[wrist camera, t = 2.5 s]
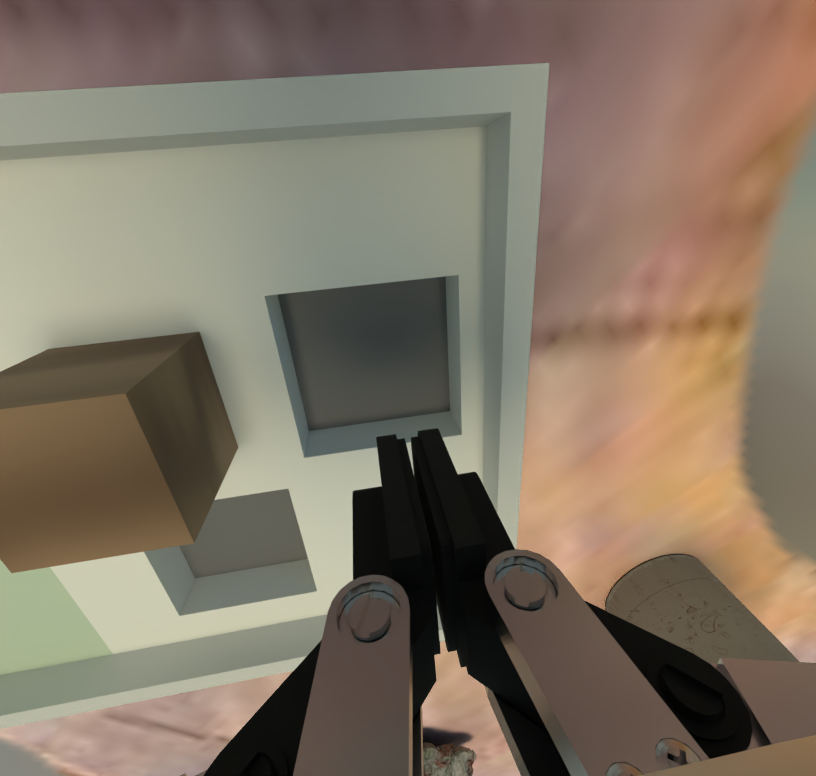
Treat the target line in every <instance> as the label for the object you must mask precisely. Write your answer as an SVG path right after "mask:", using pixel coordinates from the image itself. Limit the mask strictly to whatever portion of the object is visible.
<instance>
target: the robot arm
mask: <svg viewBox="0 0 816 776" xmlns="http://www.w3.org/2000/svg"><path fill="white" fill-rule="evenodd" d="M376 441H377V450H378V459H379V467H380V476H381V484H382V486H380V487H374V488H367V489H361V490H355V491H353V495H352V509H353V581H351V582H349V583H348V584H347V585H345V586H344V587H343V588H342V589H340V590H339V592H338V593H337V595H336V596H335V597H334V599H333V600H332V602H331V605H330V608H329V610H328V613H327V618H326V623H325V627H324V632H323V637H322V640H321V641H320V642H319V643H318V644H317V645H316V647H315V648H314V649H313V650H312V651H311V652H310V653H309V654H308V655H307V657H306V658H305V659H304V660H303V661H302V662H301V663H300V664H299V665H298V667H297V668H296V669H295V670H294V671H293V672H292V673H291V674H290V676H289V677H288V678H287V679H286V680H285V681H284V682H283V683H282V684H281V686H280V687H279V688H278V689H277V690H276V691H275V692H274V693H273V694H272V696H271V697H270V698H269V699H268V700H267V701H266V702H265V703H264V704H263V706H262V707H261V708H260V709H259V710H258V711H257V712H256V713H255V714H254V716H253V717H252V718H251V719H250V720H249V721H248V722H247V723H246V725H245V726H244V727H243V728H242V729H241V730H240V731H239V732H238V733H237V735H236V736H235V737H234V738H233V739H232V740H231V741H230V742H229V743H228V745H227V746H226V747H225V748H224V749H223V750H222V751H221V752H220V753H219V755H218V756H217V757H216V759H215V760H214V761H213V763H212V764H211V766H210V767H209V768H208V770H206V771H204V772H202V773H200V774H198V775H196V776H424V772H423V721H422V704H423V702H424V700H425V699H426V697H427V695H428V694H429V692H430V690H431V689H432V687H433V685H434V684H435V682H436V671H435V660H434V655H435V654H440V640H439V627H438V614H437V607H438V611H439V616H440V620H441V624H442V629H443V633H444V638H445V642H446V647H447V650H448V652H450V651H455V650H457V653H458V657H459V662H460V666H461V667H465V666H466V667H467V671H468V674H469V675H471V676H472V677H473V678H475V679H476V680H478V681H479V682H480V683H482V684H483V685H484V686H485V689H486V693H487V696H488V699H489V701H490V704H491V706H492V708H493V711H494V713H495V715H496V718H497V720H498V722H499V725H500V727H501V730H502V732H503V734H504V737H505V739H506V741H507V744H508V746H509V748H510V751H511V753H512V755H513V758H514V760H515V762H516V765H517V767H518V769H519V772H520V774H521V776H816V663H805V662H787V661H770V660H752V659H734V658H720V659H719V661H718V663H717V664H713V663H708V662H706V661H705V660H703V659H701V658H700V657H698V656H697V655H695V654H693V653H691V652H689V651H687V650H685V649H683V648H681V647H679V646H677V645H675V644H673V643H671V642H669V641H667V640H665V639H662V638H660V637H658V636H656V635H654V634H652V633H650V632H648V631H646V630H644V629H642V628H640V627H638V626H636V625H634V624H632V623H630V622H627V621H625V620H623V619H621V618H619V617H617V616H615V615H613V614H611V613H609V612H607V611H605V610H603V609H601V608H599V607H597V606H594V605H592V604H590V603H588V602H586V601H584V600H583V599H582V597H581V596H580V595H579V594H578V592H577V591H576V590H575V589H574V587H573V586H572V585H571V583H570V582H569V581H568V580H567V578H566V577H565V576H564V575H563V573H562V572H561V571H560V570H559V569H558V568H557V567H556V566H555V565H554V564H553V563H552V562H551V561H550V560H548V559H547V558H545V557H543V556H542V555H540V554H537V553H534V552H531V551H528V550H518V549H515V548H514V546H513V544H512V542H511V540H510V538H509V536H508V534H507V532H506V530H505V528H504V526H503V524H502V522H501V520H500V518H499V516H498V514H497V512H496V510H495V508H494V506H493V504H492V502H491V500H490V498H489V496H488V494H487V492H486V490H485V488H484V486H483V484H482V482H481V480H480V478H479V476H478V474H477V473H476V472H469V473H463V474H457V472H456V469H455V467H454V465H453V462H452V460H451V457H450V455H449V453H448V450H447V448H446V445H445V443H444V441H443V438H442V436H441V434H440V431H439V429H438V428H434V429H427V430H421V431H418V436H416V437H411V449H412V459H413V470H414V474H413V470H412V466H411V462H410V458H409V453H408V449H407V445H406V441H405V438H403V439H397V436H396V434H393V435H386V436H379V437H376ZM181 776H187V775H186V774H183V775H181Z"/></svg>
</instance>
